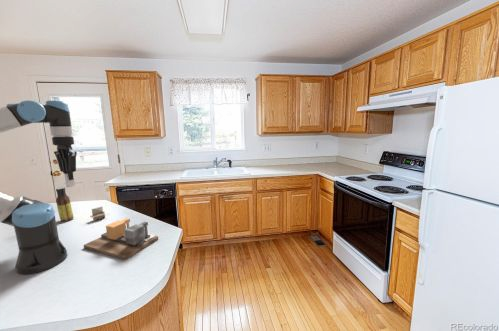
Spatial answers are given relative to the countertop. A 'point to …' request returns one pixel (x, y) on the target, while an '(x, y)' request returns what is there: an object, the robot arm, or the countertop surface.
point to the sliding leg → (117, 229)
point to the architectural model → (97, 213)
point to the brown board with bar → (124, 242)
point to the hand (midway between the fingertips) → (70, 186)
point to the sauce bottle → (64, 205)
